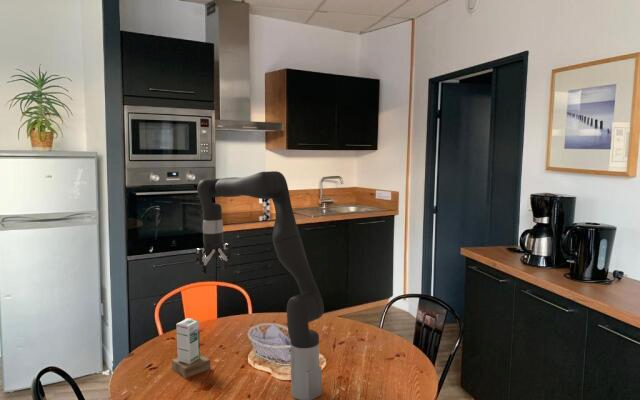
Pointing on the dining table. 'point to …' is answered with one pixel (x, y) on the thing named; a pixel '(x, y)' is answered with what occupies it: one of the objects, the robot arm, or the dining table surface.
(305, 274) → the robot arm
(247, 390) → the dining table surface
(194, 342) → the syrup box
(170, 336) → the dining table surface
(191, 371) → the walnut base block
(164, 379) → the dining table surface
